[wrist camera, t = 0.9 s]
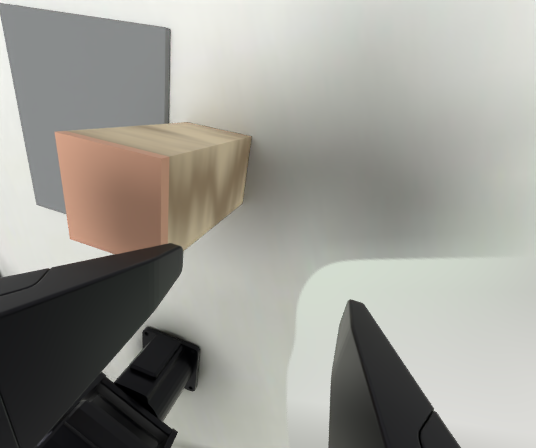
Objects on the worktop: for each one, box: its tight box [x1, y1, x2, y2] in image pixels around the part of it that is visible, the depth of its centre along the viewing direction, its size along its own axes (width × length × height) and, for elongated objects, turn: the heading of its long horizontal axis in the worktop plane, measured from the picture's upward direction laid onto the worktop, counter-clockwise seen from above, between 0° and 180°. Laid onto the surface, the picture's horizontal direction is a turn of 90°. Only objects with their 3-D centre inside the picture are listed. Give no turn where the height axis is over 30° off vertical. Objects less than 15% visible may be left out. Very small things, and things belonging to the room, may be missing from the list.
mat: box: [0, 3, 170, 214], centre depth 23 cm, size 16×14×1 cm
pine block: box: [55, 122, 252, 254], centre depth 16 cm, size 5×5×10 cm
